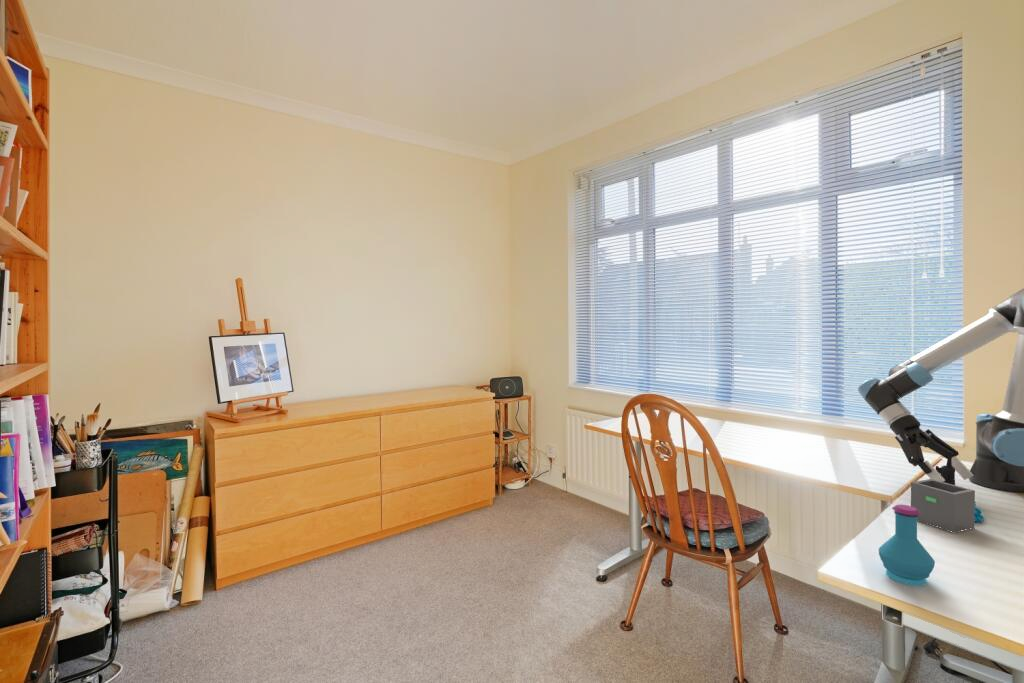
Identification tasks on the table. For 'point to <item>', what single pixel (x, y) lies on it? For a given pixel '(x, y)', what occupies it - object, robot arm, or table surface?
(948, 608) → the table surface
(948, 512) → the charging dock
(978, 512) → the gear
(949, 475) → the two-way radio
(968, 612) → the table surface
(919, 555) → the perfume bottle
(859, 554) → the table surface
